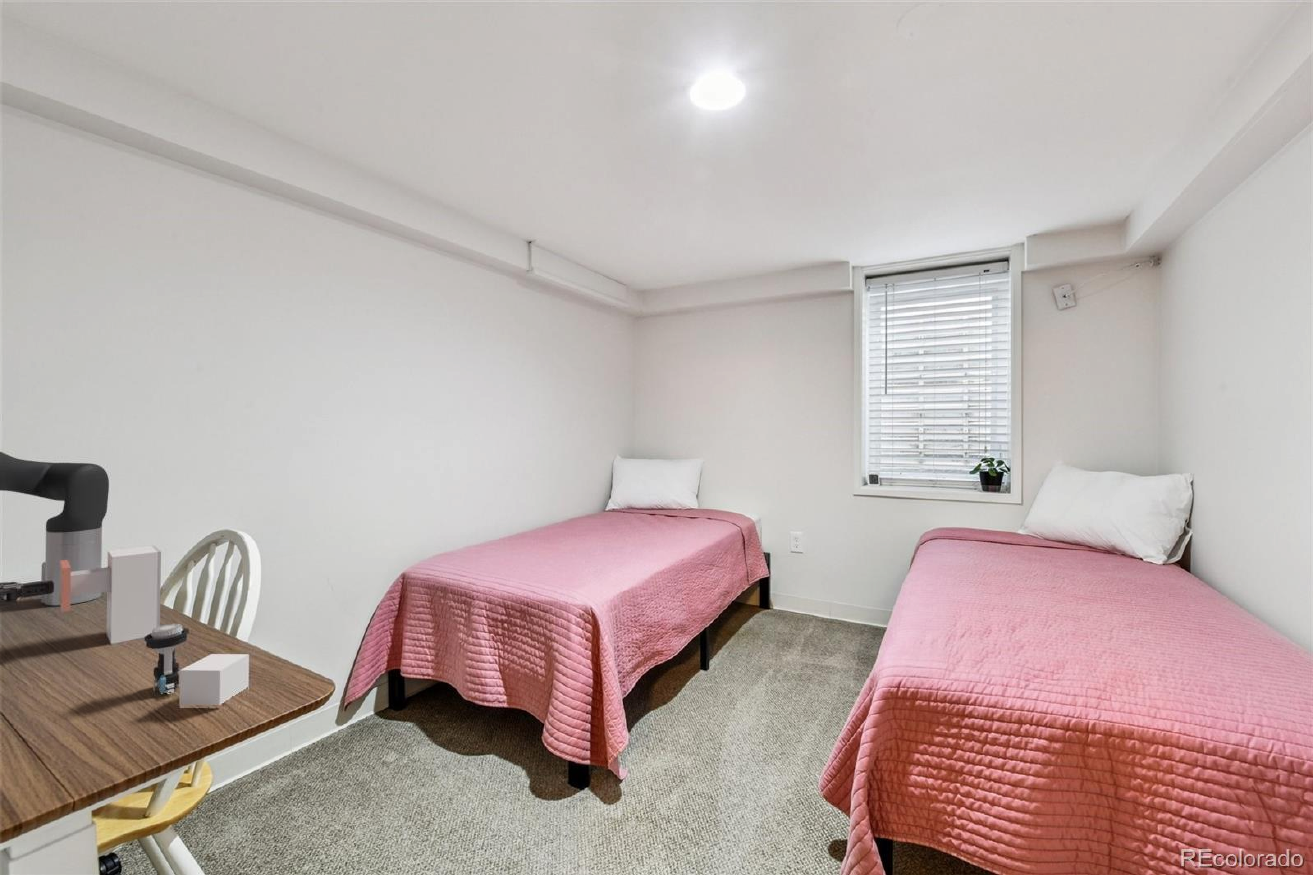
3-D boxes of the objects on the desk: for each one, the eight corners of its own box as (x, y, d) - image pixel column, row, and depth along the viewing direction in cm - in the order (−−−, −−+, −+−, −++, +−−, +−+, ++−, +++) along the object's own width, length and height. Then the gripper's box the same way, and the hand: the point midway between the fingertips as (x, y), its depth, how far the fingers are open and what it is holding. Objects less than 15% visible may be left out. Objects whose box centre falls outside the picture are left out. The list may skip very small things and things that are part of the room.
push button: (192, 691, 86) (193, 629, 86) (147, 703, 82) (148, 638, 82) (184, 678, 91) (185, 619, 91) (141, 689, 87) (142, 627, 87)
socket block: (110, 644, 104) (112, 557, 104) (106, 633, 109) (107, 550, 109) (159, 634, 110) (161, 551, 109) (153, 624, 115) (154, 545, 115)
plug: (62, 611, 99) (62, 568, 99) (59, 601, 105) (59, 560, 105) (119, 602, 105) (119, 561, 105) (113, 593, 110) (114, 554, 110)
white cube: (219, 710, 81) (220, 670, 81) (179, 709, 81) (179, 670, 81) (248, 690, 87) (249, 654, 87) (211, 690, 87) (211, 653, 87)
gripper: (-112, 594, 83) (55, 573, 97) (-100, 578, 92) (52, 560, 105) (-112, 642, 83) (55, 614, 97) (-101, 621, 92) (52, 599, 105)
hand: (53, 586), depth 101 cm, fingers closed
